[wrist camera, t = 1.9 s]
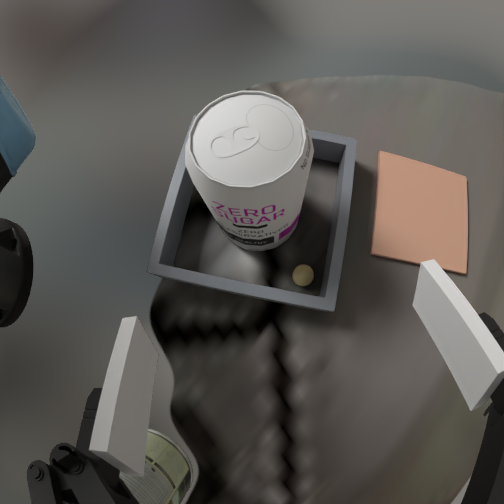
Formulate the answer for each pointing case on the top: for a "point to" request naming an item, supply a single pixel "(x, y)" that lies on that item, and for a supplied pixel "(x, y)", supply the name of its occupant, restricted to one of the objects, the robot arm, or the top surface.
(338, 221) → the parts tub
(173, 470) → the coffee can
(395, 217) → the terracotta tile
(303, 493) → the top surface
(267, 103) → the supplement can
